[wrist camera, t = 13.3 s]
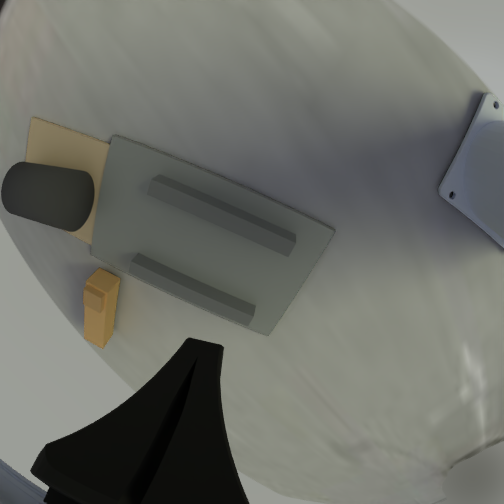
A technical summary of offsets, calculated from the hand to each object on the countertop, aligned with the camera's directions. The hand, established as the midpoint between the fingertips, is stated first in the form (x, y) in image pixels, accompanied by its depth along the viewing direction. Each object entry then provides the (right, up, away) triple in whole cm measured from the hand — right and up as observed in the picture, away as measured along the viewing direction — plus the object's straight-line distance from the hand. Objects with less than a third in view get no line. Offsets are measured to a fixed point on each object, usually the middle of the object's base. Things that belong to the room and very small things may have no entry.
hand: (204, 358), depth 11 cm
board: (-5, +6, +8) cm, 11 cm away
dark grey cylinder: (-12, +9, +8) cm, 17 cm away
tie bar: (-11, 0, +12) cm, 16 cm away
